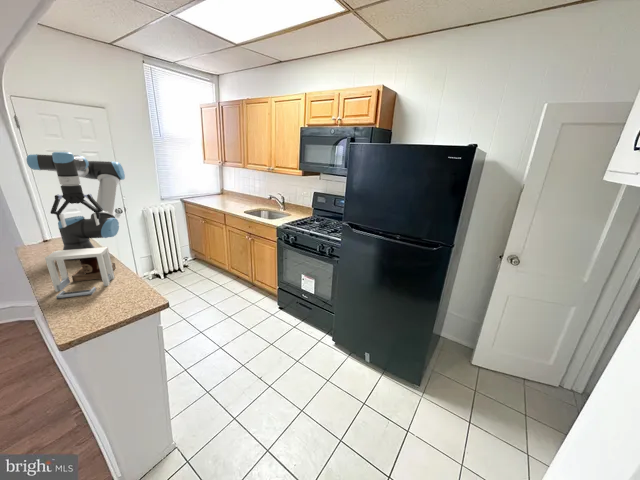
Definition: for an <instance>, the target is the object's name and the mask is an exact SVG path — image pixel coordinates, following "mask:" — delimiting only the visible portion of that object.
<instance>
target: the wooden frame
mask: <svg viewBox="0 0 640 480" xmlns="http://www.w3.org/2000/svg"><path fill="white" fill-rule="evenodd" d="M101 247H102V246H101ZM101 247H100V246H99V247H97V248H101ZM103 257H104V256H103ZM104 262H105V260H104ZM111 263H112V268H113V272H114V271H115V269H116V264H115V262H111ZM105 266H106V264H105ZM106 270H107V268H106ZM107 274H108V273H107ZM71 278H72V282H74V283H75V282H82V281H90V280H99V279H101V280H102V277H101V272H100V273H90V274H85V273H84V271H83V268H82V266H81V267H80V268H79V269H78V270H76V271H75V272H74V273H73V274H71Z"/></svg>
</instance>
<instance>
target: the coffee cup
mask: <svg viewBox="0 0 640 480" xmlns="http://www.w3.org/2000/svg"><path fill="white" fill-rule="evenodd" d="M77 260H79V262H80V263H79V264H80V266H81V267H82V268H83V271H84V273H83V274H90V273H100V268H99V264H98V260H97V257H89V258H78V259H77Z"/></svg>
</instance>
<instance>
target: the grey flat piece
mask: <svg viewBox="0 0 640 480" xmlns="http://www.w3.org/2000/svg"><path fill="white" fill-rule="evenodd" d="M96 291H97V288H96V286H93V287H92V288H91V289H83V290H73V291H67V292H65V290H61V291H59V293H58V294H57V295H55V298H56V300H61V299H63V300H64V299H70V298H71V299H72V298H78V297H87V296H93V294H94V293H95V292H96Z"/></svg>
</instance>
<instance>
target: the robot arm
mask: <svg viewBox="0 0 640 480" xmlns="http://www.w3.org/2000/svg"><path fill="white" fill-rule="evenodd" d="M25 160H26V164H27V166H28V167H29V168H30V169H32V170H35V171H47V172H48V171H49V172H56V174H57V179H58V182H59V184H60V190H61V193H62V194H55V195H54V202H53V205H52V206H51V210H50V213H49V214H52V215H55V216H56V218H57V226H58V230H59V233H60V234H59V235H60V237H61V241H62V244H63V248H62V250H73V249H87V248H96V247H95V246H94V245H93V243H92V242H91V240H90V239H107V238H113V237H115V236H116V235H118V232H119V229H120V226H119V225H120V222H119V220H118V219H117V218H116V216H115V215H114V209H115V200H116V193H117V186H118V185H119V184H120V183H121V181H123V180H125V178H126V173H125V171H124V168H123V165H122V164H121V163H120V162H119V161H113V160H112V161H101V160H88V159H87V158H86V157H85V156H82V155H78V154H75V155H74V154H73V152H69V151H54V152H52V153H51V154H38V153H36V154H34V153H33V154H29V155H27V156H26V159H25ZM80 178H85V179H90V180H97V181H99V183H98V185H99V186H98V190H97V191H98V192H97V198H96V200H95V199H94V197H93V195H92V194H91V193H88V194H87V193H86V194H84V192H83V189H82V184H81V180H80ZM85 198H86V199H87V200H89V202H90V203H89V202H88V201H87V200H86V199H85ZM62 199H63V200H64V202H63V204H62V205H61V206H59V204H60V202H61V200H62ZM69 204H72V205H73V204H81V205H84V206H85V207H86V208H87V209H89V210H91V211H92V212H93V213H91V214H90V218H85V217H84V216H83V215H78V216H77V215H76V216H71V217H66V218H65V215H64V213H62V212H63V211H64V210H65V209H66V208H67V206H68V205H69ZM59 207H60V208H59ZM69 260H70V261H73V260H75V261H76V260H79V259H78V258H77V259H64V261H69Z"/></svg>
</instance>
